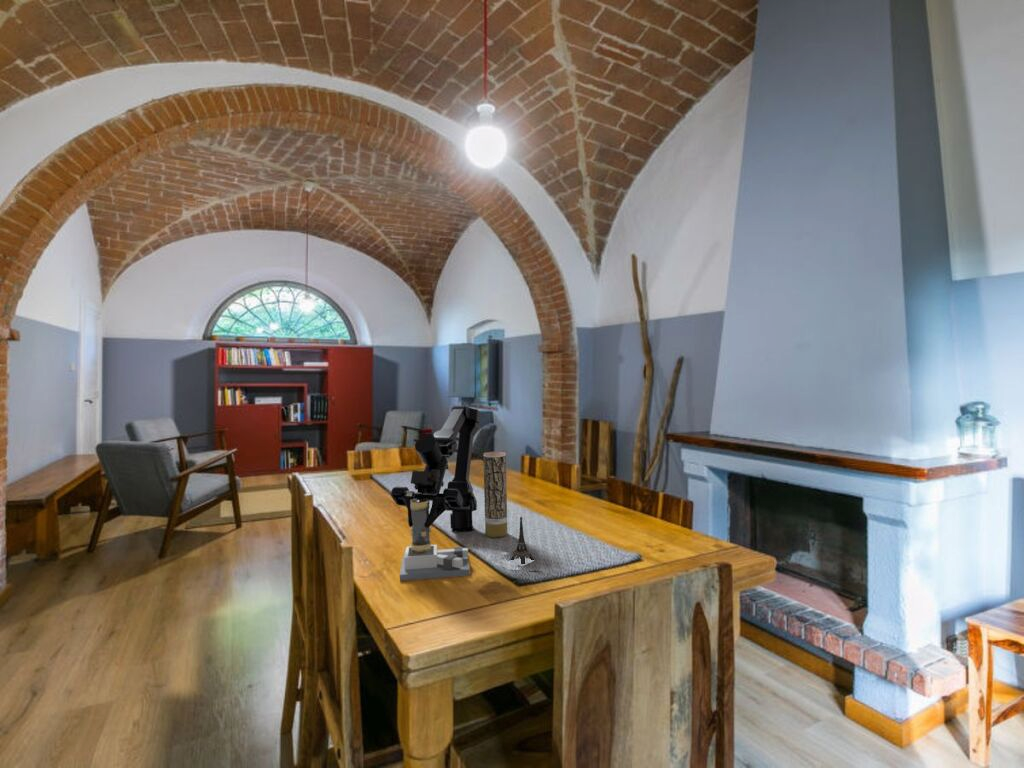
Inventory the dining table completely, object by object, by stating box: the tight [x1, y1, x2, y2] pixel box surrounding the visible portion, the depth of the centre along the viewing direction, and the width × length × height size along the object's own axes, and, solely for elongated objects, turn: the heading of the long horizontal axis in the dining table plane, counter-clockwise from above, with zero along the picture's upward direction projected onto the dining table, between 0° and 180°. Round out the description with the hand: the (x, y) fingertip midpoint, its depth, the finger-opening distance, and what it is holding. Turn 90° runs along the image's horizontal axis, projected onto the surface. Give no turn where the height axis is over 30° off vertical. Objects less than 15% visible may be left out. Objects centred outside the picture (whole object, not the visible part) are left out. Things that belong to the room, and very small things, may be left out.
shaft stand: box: [399, 544, 471, 582], centre depth 131 cm, size 17×15×4 cm
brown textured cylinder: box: [483, 451, 508, 538], centre depth 156 cm, size 7×7×25 cm
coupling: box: [409, 498, 432, 554], centre depth 131 cm, size 5×5×13 cm
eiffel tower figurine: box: [509, 516, 536, 564], centre depth 135 cm, size 15×10×13 cm
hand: (418, 526), depth 130 cm, fingers closed on coupling, 4 cm apart
